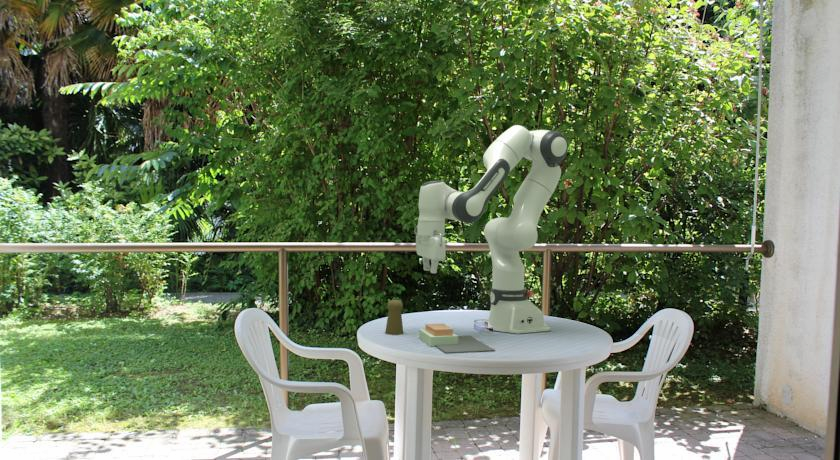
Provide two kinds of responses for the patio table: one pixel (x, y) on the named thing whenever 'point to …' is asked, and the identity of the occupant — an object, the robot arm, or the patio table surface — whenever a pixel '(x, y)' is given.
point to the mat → (465, 346)
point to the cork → (394, 318)
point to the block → (439, 330)
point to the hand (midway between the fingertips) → (430, 271)
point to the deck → (437, 338)
